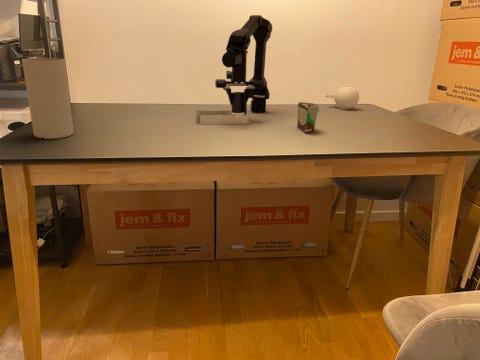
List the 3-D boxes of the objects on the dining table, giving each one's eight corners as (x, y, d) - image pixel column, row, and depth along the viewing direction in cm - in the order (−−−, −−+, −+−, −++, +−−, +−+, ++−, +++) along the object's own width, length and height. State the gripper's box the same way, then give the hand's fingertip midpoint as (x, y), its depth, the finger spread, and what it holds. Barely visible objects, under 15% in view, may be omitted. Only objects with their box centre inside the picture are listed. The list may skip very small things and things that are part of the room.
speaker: (251, 113, 167) (251, 88, 163) (245, 115, 162) (245, 90, 158) (235, 112, 170) (235, 87, 166) (228, 114, 165) (229, 88, 162)
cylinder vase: (50, 141, 129) (38, 61, 120) (25, 136, 135) (13, 59, 126) (81, 134, 139) (73, 59, 130) (57, 129, 145) (48, 57, 136)
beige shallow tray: (247, 117, 173) (247, 109, 172) (252, 124, 161) (252, 115, 160) (196, 118, 170) (196, 110, 168) (197, 124, 158) (197, 115, 157)
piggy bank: (359, 113, 198) (338, 110, 210) (366, 90, 196) (345, 88, 209) (342, 107, 191) (321, 105, 204) (349, 83, 190) (328, 82, 202)
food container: (321, 134, 148) (324, 107, 145) (305, 134, 147) (308, 107, 144) (310, 127, 160) (313, 101, 156) (296, 127, 159) (298, 101, 155)
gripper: (258, 64, 167) (256, 101, 173) (214, 63, 165) (214, 101, 170) (263, 66, 157) (261, 106, 163) (216, 66, 154) (216, 106, 160)
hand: (238, 104), depth 164 cm, fingers closed on speaker, 5 cm apart
